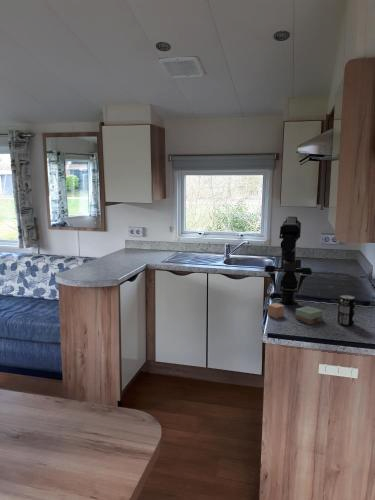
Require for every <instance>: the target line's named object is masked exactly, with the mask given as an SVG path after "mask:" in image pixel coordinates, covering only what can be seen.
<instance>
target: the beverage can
mask: <svg viewBox="0 0 375 500" xmlns="http://www.w3.org/2000/svg"><path fill="white" fill-rule="evenodd" d="M356 302H357V301H356V299H355V296H353V295H350V294H342V295H341V294H340V297H339V299H338V306H337V309H338V310H337V320H336V321H337V323H338V324H339V325H340V326H344V327H351V326H353V325H354V323H355V314H356V304H357V303H356Z"/></svg>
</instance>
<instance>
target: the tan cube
mask: <svg viewBox="0 0 375 500" xmlns="http://www.w3.org/2000/svg"><path fill="white" fill-rule="evenodd" d="M267 316H269V317H272V318H274V319H279V318H282V317H284V316H285V305H284V304H280V303H277V302H275V303H270V304H267Z"/></svg>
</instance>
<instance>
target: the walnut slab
mask: <svg viewBox="0 0 375 500" xmlns="http://www.w3.org/2000/svg"><path fill="white" fill-rule="evenodd" d="M295 320H298V321H300V322H303V323H306V324H308V325H312V324H316V323H319V322H322V321H323V320H324V319H323V315H322V316H321V317H317V318H314V319H311V320H310V319H307V318H304V317H301V316H298V315H295Z"/></svg>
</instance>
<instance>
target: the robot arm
mask: <svg viewBox="0 0 375 500" xmlns="http://www.w3.org/2000/svg"><path fill="white" fill-rule="evenodd" d="M301 232H302V223H301V222H300V221H299V220H298V216H290V215H289V216H288V215H287V216H286V217H285V220H284V221H283V222H282V224H281V226H280V230H279V236H278V237H279V239H280V240H281V242H280V249H281V255H280V267H278V266H277V267H276V266H275V265H265V266H264V271H263V272H264V273H267V275H269V276H270V278H271V282H272V285H273V288H274V291H276V290H277V289H276V288H277V283H276V282H277V280H276V273H275V272H280V273H281V272H282V273H283V274H282V277H281V279H280V287H279V288H280V289H279V291H280V292H282V294H281V300H279V303H282V304H283V305H287V306H291V305H296V304H298V301H296V296H297V295H296V293H299V292H300V289H301V286H302V284H303V282H304V280H305V278H308V277H309V276H311V275H312V274H313V273H312V272H313V269H312V268H311V267H302V260H301V259H296V255H297V242H298V240H299V239H301ZM296 273H297V274H298V276H297V274H296Z"/></svg>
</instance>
